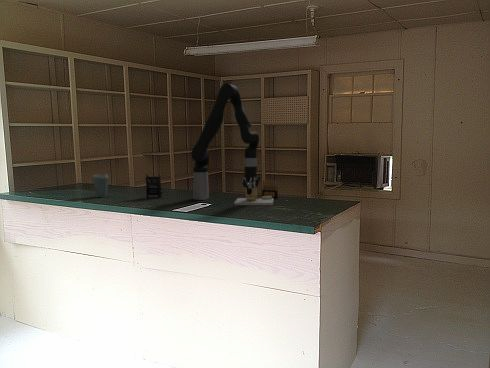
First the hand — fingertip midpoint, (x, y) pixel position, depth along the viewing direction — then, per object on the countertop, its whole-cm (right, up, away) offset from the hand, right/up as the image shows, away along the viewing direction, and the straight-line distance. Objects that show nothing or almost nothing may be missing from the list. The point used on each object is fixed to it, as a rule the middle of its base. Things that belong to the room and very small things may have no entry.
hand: (250, 194), depth 260 cm
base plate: (+2, -5, -1) cm, 6 cm away
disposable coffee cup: (-99, -3, +29) cm, 103 cm away
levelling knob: (0, -4, 0) cm, 4 cm away
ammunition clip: (+12, -3, +17) cm, 21 cm away
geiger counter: (-62, -3, +24) cm, 67 cm away
